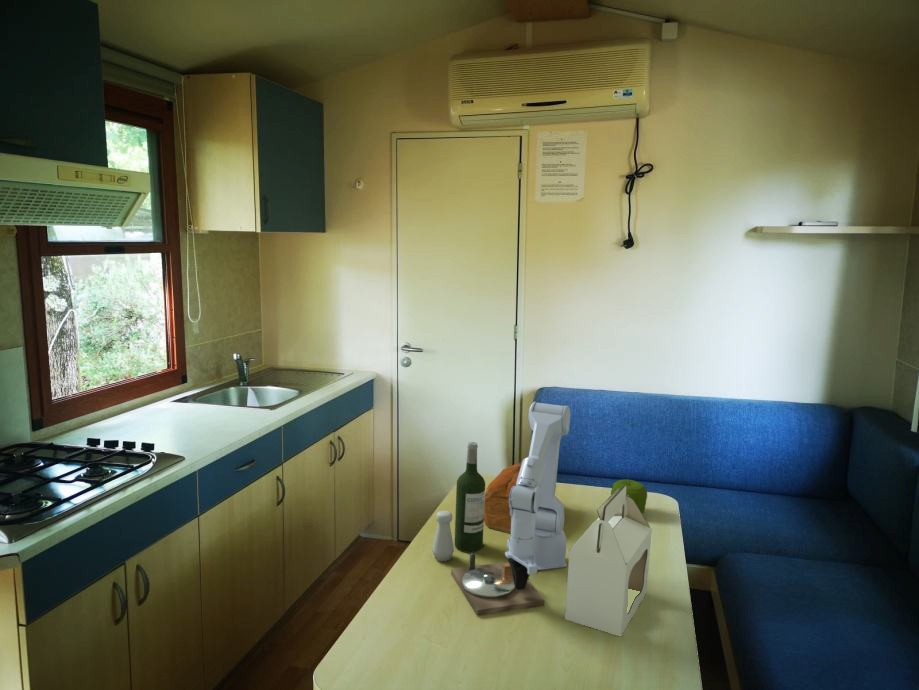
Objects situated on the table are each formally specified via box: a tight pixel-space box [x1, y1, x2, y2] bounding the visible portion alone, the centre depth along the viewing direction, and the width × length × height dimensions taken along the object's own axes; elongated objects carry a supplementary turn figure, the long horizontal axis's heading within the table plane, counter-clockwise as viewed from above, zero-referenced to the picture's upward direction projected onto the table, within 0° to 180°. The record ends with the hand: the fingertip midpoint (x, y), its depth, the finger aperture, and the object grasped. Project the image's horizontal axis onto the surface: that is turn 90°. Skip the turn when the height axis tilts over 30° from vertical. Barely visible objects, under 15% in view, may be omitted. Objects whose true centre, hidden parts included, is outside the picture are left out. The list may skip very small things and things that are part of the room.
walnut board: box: [450, 552, 546, 617], centre depth 172 cm, size 17×20×6 cm
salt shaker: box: [432, 510, 455, 562], centre depth 187 cm, size 6×6×13 cm
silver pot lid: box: [462, 562, 515, 598], centre depth 172 cm, size 15×13×5 cm
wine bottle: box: [454, 441, 486, 553], centre depth 193 cm, size 8×8×30 cm
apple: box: [610, 479, 648, 517], centre depth 222 cm, size 11×11×11 cm
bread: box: [484, 462, 557, 534], centre depth 216 cm, size 16×27×16 cm, turn 152°
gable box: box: [564, 486, 653, 635], centre depth 164 cm, size 22×13×28 cm, turn 151°
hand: (519, 587), depth 167 cm, fingers closed
